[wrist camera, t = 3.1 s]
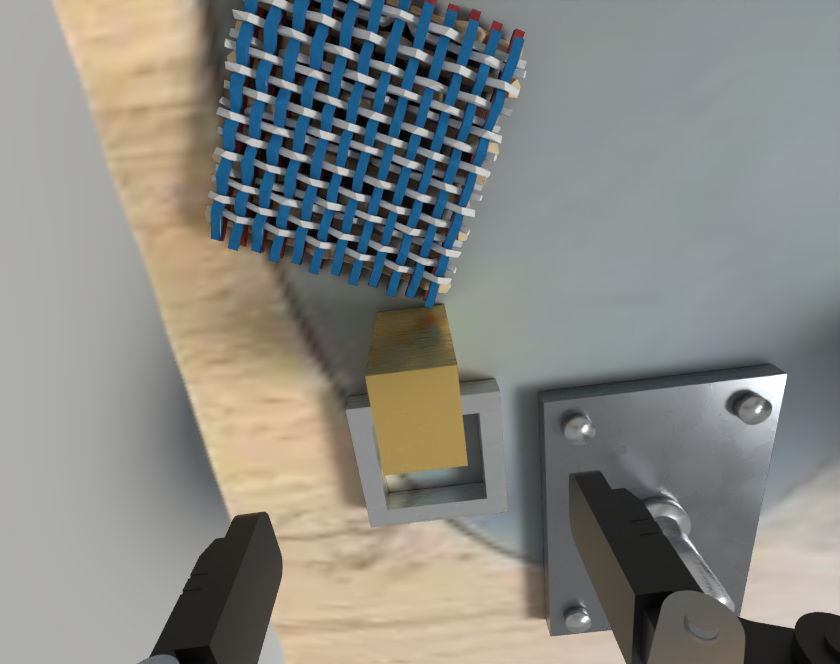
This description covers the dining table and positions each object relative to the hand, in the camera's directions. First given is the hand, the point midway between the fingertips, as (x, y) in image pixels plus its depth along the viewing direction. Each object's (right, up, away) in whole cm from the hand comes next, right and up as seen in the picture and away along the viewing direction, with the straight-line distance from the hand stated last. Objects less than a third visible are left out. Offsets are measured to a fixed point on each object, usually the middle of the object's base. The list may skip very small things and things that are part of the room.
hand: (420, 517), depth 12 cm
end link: (0, +1, +10) cm, 10 cm away
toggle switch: (+12, -5, +13) cm, 18 cm away
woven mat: (-2, +12, +6) cm, 14 cm away
